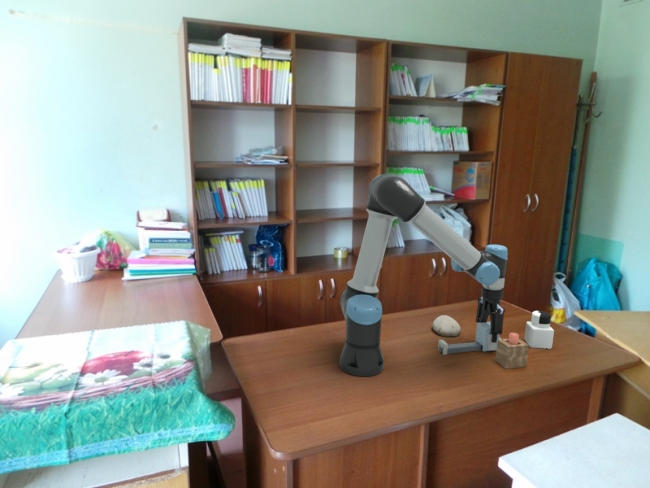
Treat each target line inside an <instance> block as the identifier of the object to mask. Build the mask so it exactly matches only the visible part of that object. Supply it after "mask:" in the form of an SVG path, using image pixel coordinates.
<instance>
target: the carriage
mask: <svg viewBox="0 0 650 488" xmlns="http://www.w3.org/2000/svg"><path fill="white" fill-rule="evenodd" d="M489 333H491V324H490V321H487V322H483V323H478V322H476V331H475V341H474V342H478V343H480V344H481V345H483V350H481V351H482V352H490V351H491V352H493V351H497V343H498V340H499V337H500V334H498V335H497V342H496V347H495V350H488V341H489Z"/></svg>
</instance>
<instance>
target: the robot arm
mask: <svg viewBox="0 0 650 488" xmlns="http://www.w3.org/2000/svg"><path fill="white" fill-rule="evenodd" d="M365 210H366V213H368V217H367V223H366V226H365V230H364V232H363V233H364V234H363V238H362V242H361V244H360V249H359V253H358V257H357V260H356V264H355V269H354V273H353V275H352V276H353V277H352V278H351V279H350V280H348V281H347V283H346V287H345V290H344V291H343V293H342V295H341V297H340V308H341V311H342V313H343V316H344V320H345V343H344V346H343V348H342V352H341V353H340V356H339V368H340V369H341V370H342V371H343V372H345V373H347V374H350V375H352V376H358V377H372V376H376V375H378V374H380V373H382V372H383V371H384V370H385V369H384V368H385V359H384V354H383V351H382V349H381V334H382V333H381V332H382V331H381V330H382V316H383V308H382V307H383V305H382V303H381V301H380V300H379V299H378V294H379V288H378V286H377V282H378V278H379V274H380V270H381V267H382V263H383V260H384V256H385V252H386V248H387V245H388V240H389V237H390V233H391V229H392V227H393V222H394V221H395V220H397V219H399V220H401V221H402V222H403V223H405V224H410V225H411V226H413V227H414V228H415V229H416V230H418V232H420V233H421V234H422V235H423V236H424V237H426V238H427V239H428V240H429V241H430V242H431V243H432V244H434V245H435V246H436V247H437V248H439V249H440V250H441V251H442V252H443V253H444V254H446V255H447V256H448V257H449V258H450V266H451V268H452V270H453V271H454V272H459V273H462V272H464V273H467V275H469V276H471V277H472V278H473V279H474V280H476V281H477V282H478V283H479V284H481V285H482V286H481V291H480V292H481V293H480V296H481V297H477V309H476V317H475V322H476V323H483V322H488V319H489V322H490V324H491V333H489V341H488V350H493V351H496V350H495V347H496V342H497V335H498V334H499V335H503V326H504V317H505V316H504V315H505V312H506V309H505V307H504V308H502V307H501V303H500V302H501V300H502V299H503V298H504V290H505V289H504V287H505V280H506V279H505V277H506V270H507V265H508V263H507V262H508V260H509V259H508V255H509V253H508V248H507V247H506V246H504V245H501V244H488V245H486V246H485V249H484V250H478V249H477V248H475V247H474V246H473V244H471V243H470V242H468V240H466V239H465V238H464V237H463V236H462V235H460V234H459V233H458V232H457V231H456V230H455V229H454V228H453V227H451V225H449V224H448V223H447V222H446V221H445V220H443V219H442V218H441V217H440V216H439V215H438V214H437V213H436V212H434V211H433V210H432V209H431V207H429V206H427V204H426V199H424V198H423V197H422V196H421V195H420V194H419V193H418V191H416V190H415V188H413V187H412V186H411V184H410V183H408V181H407V180H406V179H404V178H403V177H401V176H398V175H394V174H391V173H384V174H380V175H378V176H375V177H374V179H373V180H372V181H370V184H369V187H368V201H367V205H366V209H365Z"/></svg>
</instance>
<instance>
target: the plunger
mask: <svg viewBox="0 0 650 488" xmlns="http://www.w3.org/2000/svg"><path fill="white" fill-rule="evenodd" d="M519 337H520V335H519V333H518V332H513V331H512V332H510V333H509V335H508V339H509V342H508V343H509V344H511V345H518V339H520V338H519Z"/></svg>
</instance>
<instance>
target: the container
mask: <svg viewBox="0 0 650 488" xmlns="http://www.w3.org/2000/svg"><path fill="white" fill-rule="evenodd" d="M551 321H552V314H550V313H548V312H547V311H544V310H534V311H533V312H532V313H531V320H530V321H526V323H525V331H524V340H525V341H524V342H525V343H527V344H528V345H529V348H531V349H546V348H547V350H548V349H549V350H551V349H552V348H553V341H554V333H555V330H554V329H553V328H552V326H550V325H551Z"/></svg>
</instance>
